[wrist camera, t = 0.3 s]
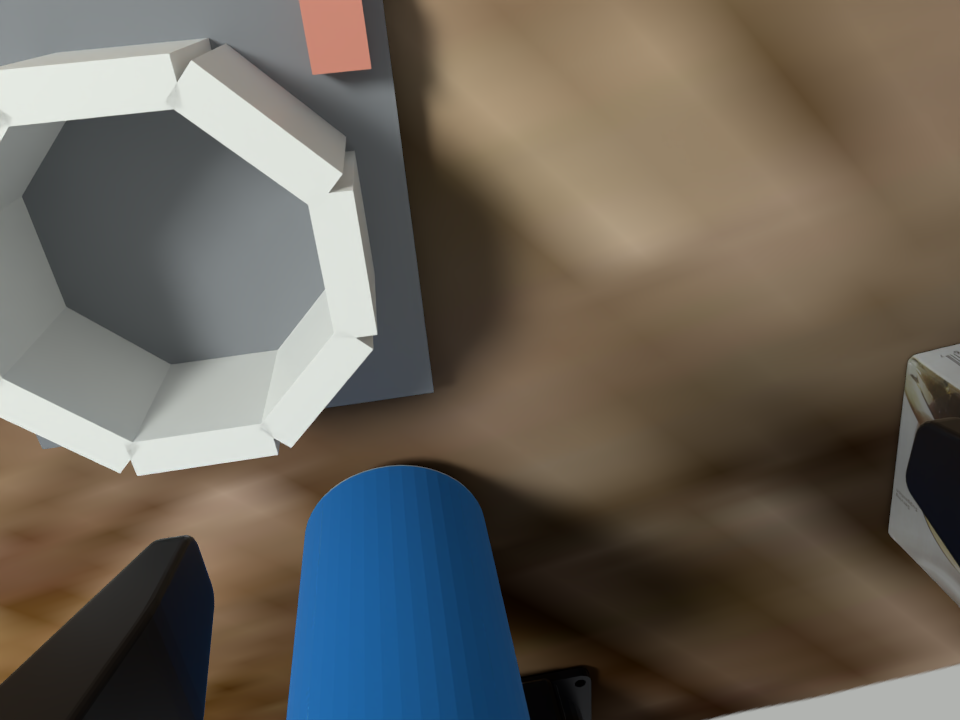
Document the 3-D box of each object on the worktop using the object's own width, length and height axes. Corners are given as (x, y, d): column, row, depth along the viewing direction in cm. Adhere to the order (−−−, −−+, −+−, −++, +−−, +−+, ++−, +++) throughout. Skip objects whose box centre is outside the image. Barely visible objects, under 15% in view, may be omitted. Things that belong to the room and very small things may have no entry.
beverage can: (346, 607, 28) (338, 985, 17) (276, 487, 25) (213, 862, 14) (502, 554, 28) (587, 904, 17) (451, 427, 24) (518, 761, 14)
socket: (431, 376, 23) (447, 468, 19) (55, 430, 22) (-19, 540, 18) (376, -37, 18) (381, -42, 13) (-136, 9, 16) (-315, 20, 12)
